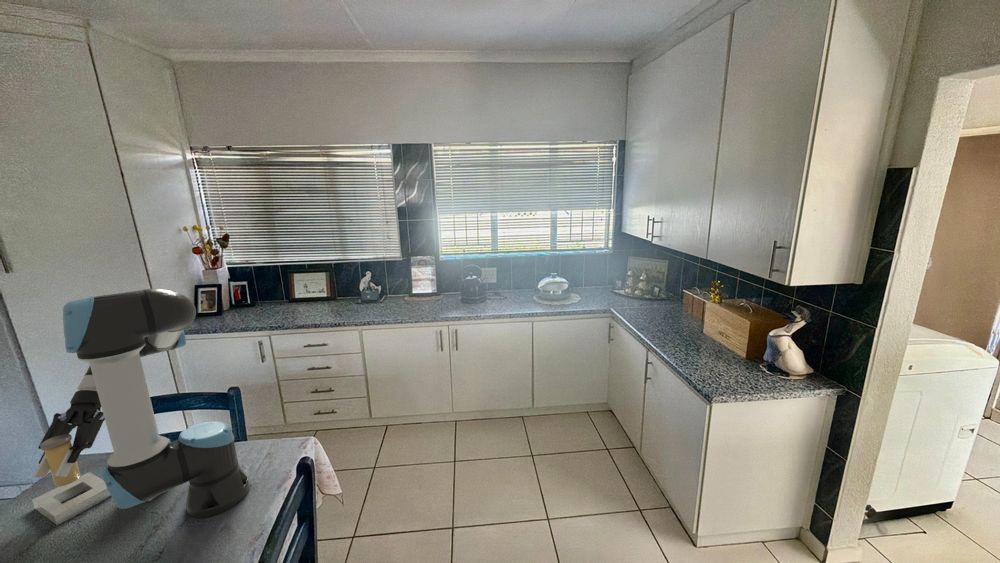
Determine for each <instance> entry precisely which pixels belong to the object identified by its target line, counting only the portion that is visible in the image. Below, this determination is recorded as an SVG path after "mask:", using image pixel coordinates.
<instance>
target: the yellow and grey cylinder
mask: <svg viewBox="0 0 1000 563" xmlns="http://www.w3.org/2000/svg"><path fill="white" fill-rule="evenodd" d="M72 440H73V436H72V434H70V433H69V434H64V435H59V436H55V437H53V438H50V439H48V440H46V441H44V442H43V443H41V442H40V443H41V445H40V444H39V445H40V447H41V449H40V450H42V451H43V453H44V452H45V455H46V458H47V461H48V464H49V467H50V470H49V472H50V474H51V477H52V479H53V483H54V486H55V487H56V488H57V487H60V486H65V485H68V484H70V483H73V482H74V481H76V480H78V479H79V478H80V477H81V476H82V475H81V471H80V467H79V464H78V460H77V461H76V462H75V463H73V465H72V467H71V469H70V471H69V473H68V475H67V477H61V476H55V474H56V472H57V470H58V468H59V466H60V464H61V462H62V460H63V459H64V457H65V455H66V453H67V451H68V450H71V449H69V448H71V447H72V446H73V443H72Z"/></svg>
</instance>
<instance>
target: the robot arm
mask: <svg viewBox="0 0 1000 563" xmlns="http://www.w3.org/2000/svg"><path fill="white" fill-rule="evenodd" d="M196 315H197V309H196V306H195V304H194V302H193V301H192V300H191V299H190V298H189V297H187V295H184V294H183V293H180V292H177V291H176V290H175V291H174V290H170V289H165V288H147V289H146V288H145V289H141V290H133V291H126V292H118V293H111V294H104V295H103V294H102V295H97V296H89V297H85V298H80V299H74V300H71V301H68V302H67V303H65V304H64V306H63V307H62V321H63V322H62V323H63V337H64V347H65V352H66V353H68V354H75V353H76V356H77V359H78V361H82V362H84V363H87V364H89V366H88V369H87V371H86V372H85V374H84V375H83V378H82V379H81V381H80V383H79V385H78V387H77V391H75V392H74V394H73V396H72V397H71V399H70V401H69V402H70V407H69V408H68V409H67V410H66V412H62V413H58V412H57V413H54V415H53V418H52V422H51V424H50V426H49V428H48V429H47V431H46V432H45V434H44V436H43V438H42V440H41V442H40V443H39V446H38V447H37V449H40V450H42V449H41V447H40V445H41V443H43V442H44V441H46V440H48V439H50V438H53V437H55V436H59V435H64V434H70V433H71V432H72V430H74V429H75V428H76V431H75V435H74V439H73V443H72V447H71V448H69V449H71V450H68V451H67V453H66V455H65V457H64V459H63V460H62V462H61V464H60V466H59V468H58V470H57V472H56V474H55V476H61V477H67V475H68V473H69V471H70V469H71V467H72V465H73V463H75V462H76V461H77V462H78V459H79V457H80V454H81V453H82V452H83V451H84V450H86V449H91V448H92V447H93V444H94V443H95V441H96V438H97V436H98V434H99V432H100V430H101V429H102V428H101V427H102V425H103V423H104V422H105V424H106V428H107V432H108V435H109V440H110V443H111V446H112V450H113V451H112V454H111V455H110V456H109V457H108V458H107V462H106V463H107V466H105V467H104V468H102V469H101V471H100V472H101V473H100V474H101V477H102V480H104V482H105V484H106V486H107V489H108V491H109V493H110V495H111V496H110V498H112V500H113V502H114V503H115V505H116V506H117V508H119V509H122V510H126V509H131V508H132V507H135V506H137V505H139V504H143V503H146V502H148V501H147V500H149V499H151V498H153V497H155V496H156V497H158V496H159V495H161V494H163V493H164V494H165V493H166V492H168V491H170V490H173V489H175V488H177V487H179V486H181V485H183V484H185V483H187V482H188V484H189V486H188V489H187V496H186V500H185V507H186V512H187V514H188V515H189V516H190V517H193V518H198V519H199V518H201V519H203V518H209V517H213V516H216V515H219V514H222V513H224V512H226V511H228V510H230V509H232V508H233V507H234V506H236V505H237V504H239V503H240V502H242V500H243V499H244V498H245V497H246V496H247V494H248V492H249V490H250V480H249V477H248V475H247V474H246V473H245V471H244V470H243V469H242V468H241V466H240V465H239V462H238V455H237V449H236V445H235V436H234V434H233V431H232V427H231V426H230V424H228V423H227V422H224V421H221V420H220V421H219V420H210V421H203V422H199V423H195V424H193V425H190V426H188V427H186V428H185V429H183V430H182V431H181V432H180V434H179V436H178V439H177V440H173V441H171V443H169V440H168V439H169V438H168V437H166V436H163V435H160V432H159V428H158V424H157V420H156V417H155V414H154V413H155V412H154V410H153V409H154V408H153V404H152V399H151V397H150V393H149V392H150V391H149V387H148V383H147V379H146V376H145V372H144V371H145V370H144V367H143V363H142V359H141V358H143V357H147V356H151V355H155V354H159V353H163V352H168V351H174V350H176V349H179V348H183V347H184V346H185V345H187V344H186V343H187V338H186V335H185V334H186V333H185V331H184V330H186V329H187V328H188V327H190V326H191V325H192V323H193V322H194V320H195V319H196ZM101 410H102V411H101ZM49 472H50V467H49V464H48V461H47V458H46V455H45V452H44V451H43V453H42V455H41V457H40V459H39V461H38V466H37V468H36V469H35V472H34V473H33V475H32V477H33V478H43V479H44V478H45V479H46V477H47V475H48V473H49ZM157 495H158V496H157ZM156 497H155V498H156Z"/></svg>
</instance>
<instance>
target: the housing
mask: <svg viewBox="0 0 1000 563" xmlns="http://www.w3.org/2000/svg"><path fill="white" fill-rule="evenodd" d="M84 491H86V492H84ZM82 492H84V493H82ZM81 493H82V494H81ZM78 494H79V495H78ZM77 495H78V496H77ZM74 496H76V497H74ZM73 497H74V498H73ZM70 498H71V499H70ZM108 498H111V495H110V493H109V491H108V489H107V486H106V484H105V482H104V480H103V478H101V477H98V476H97V475H95V474H93V473H92V472H87V473H85V474H83V475H81V477H80V478H79V479H78V480H76V481H74V482H73V483H70V484H68V485H65V486H60V487H57V486H56V487H55V488H53V489H52V490H49V491H47V492H46V493H42V494H41V495H39V496H37V497H35V498H33V499H31V502H32V504H33V507H34V510H36V511H37V510H38V511H37V512H38V513H40V514H41V515H42V516H44V517H46V519H48V520H50V521H51V522H52V523H53V524H55V525H56V526H58V525H59V526H60V525H61V524H63V523H65V522H66V521H68V520H70V519H72V518H74V517H76V516H78V515H79V514H81V513H83V512H85V511H86V510H88V509H90V508H93V507H94V506H95V505H97V504H100V503H101V502H103V501H105V500H107V499H108ZM69 499H70V500H69ZM65 501H66V502H65ZM63 502H64V503H63Z"/></svg>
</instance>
